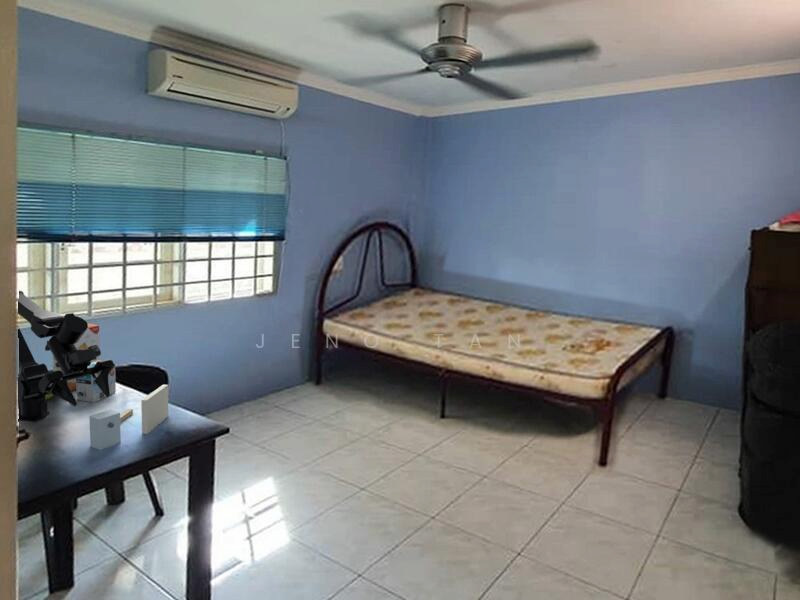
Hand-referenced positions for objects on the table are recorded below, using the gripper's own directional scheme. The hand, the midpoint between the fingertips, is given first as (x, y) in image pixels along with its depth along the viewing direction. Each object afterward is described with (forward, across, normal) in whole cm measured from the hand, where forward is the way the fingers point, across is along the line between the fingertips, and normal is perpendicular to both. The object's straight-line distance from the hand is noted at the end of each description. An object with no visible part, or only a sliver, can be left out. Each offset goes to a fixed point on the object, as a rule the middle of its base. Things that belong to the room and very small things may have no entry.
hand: (92, 400), depth 153 cm
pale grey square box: (+11, 0, +5) cm, 12 cm away
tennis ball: (-21, +10, +36) cm, 43 cm away
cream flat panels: (+7, +14, +9) cm, 18 cm away
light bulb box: (-14, +21, +30) cm, 39 cm away
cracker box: (-23, +23, +39) cm, 51 cm away
